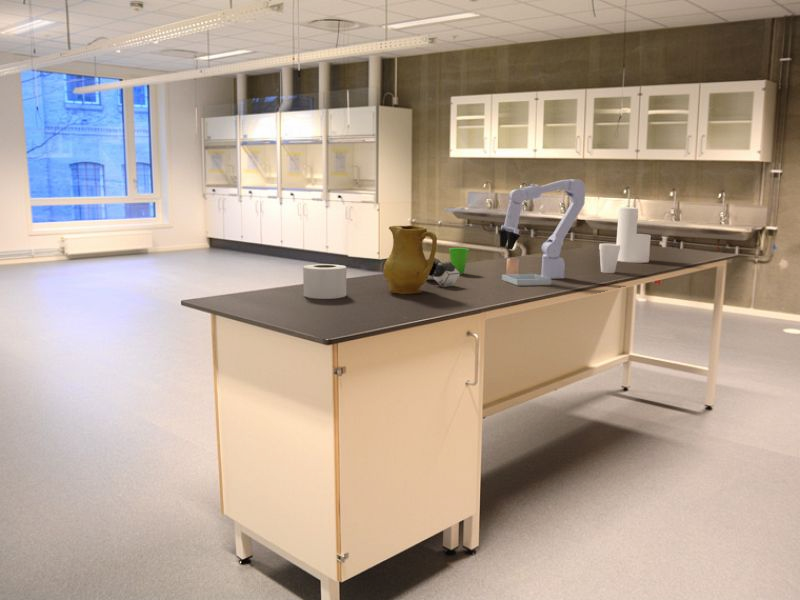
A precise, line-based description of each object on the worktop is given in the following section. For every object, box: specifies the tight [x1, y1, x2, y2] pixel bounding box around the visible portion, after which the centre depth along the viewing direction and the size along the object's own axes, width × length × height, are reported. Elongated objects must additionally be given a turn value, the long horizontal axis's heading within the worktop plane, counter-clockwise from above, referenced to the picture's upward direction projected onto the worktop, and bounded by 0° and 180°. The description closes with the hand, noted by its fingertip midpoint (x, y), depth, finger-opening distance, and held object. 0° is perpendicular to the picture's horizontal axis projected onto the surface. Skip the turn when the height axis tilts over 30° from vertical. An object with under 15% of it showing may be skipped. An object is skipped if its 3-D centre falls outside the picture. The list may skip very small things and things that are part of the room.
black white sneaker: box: [426, 257, 461, 288], centre depth 299 cm, size 25×10×10 cm, turn 21°
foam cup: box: [598, 242, 620, 274], centre depth 344 cm, size 10×9×13 cm
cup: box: [448, 247, 470, 275], centre depth 329 cm, size 9×9×11 cm
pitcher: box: [383, 224, 438, 295], centre depth 275 cm, size 17×19×25 cm
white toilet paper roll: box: [302, 263, 347, 300], centre depth 265 cm, size 16×15×11 cm
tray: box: [501, 273, 552, 287], centre depth 307 cm, size 15×15×2 cm
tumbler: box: [505, 257, 520, 275], centre depth 322 cm, size 5×5×8 cm
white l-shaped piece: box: [615, 206, 652, 264], centre depth 391 cm, size 17×17×28 cm
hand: (505, 248), depth 319 cm, fingers open, 7 cm apart
